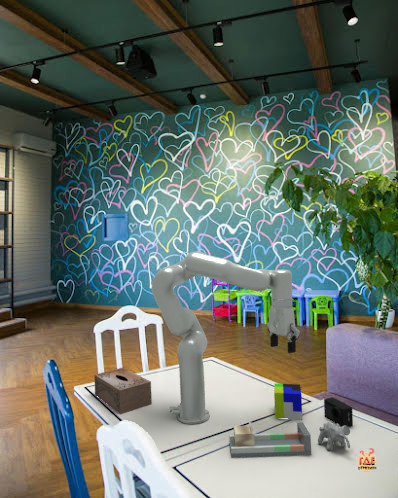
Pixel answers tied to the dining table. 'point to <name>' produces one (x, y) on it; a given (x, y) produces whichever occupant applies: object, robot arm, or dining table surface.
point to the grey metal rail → (270, 446)
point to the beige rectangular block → (244, 435)
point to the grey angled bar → (304, 436)
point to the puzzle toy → (288, 401)
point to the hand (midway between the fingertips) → (282, 349)
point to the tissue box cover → (123, 390)
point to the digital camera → (338, 412)
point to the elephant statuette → (334, 435)
